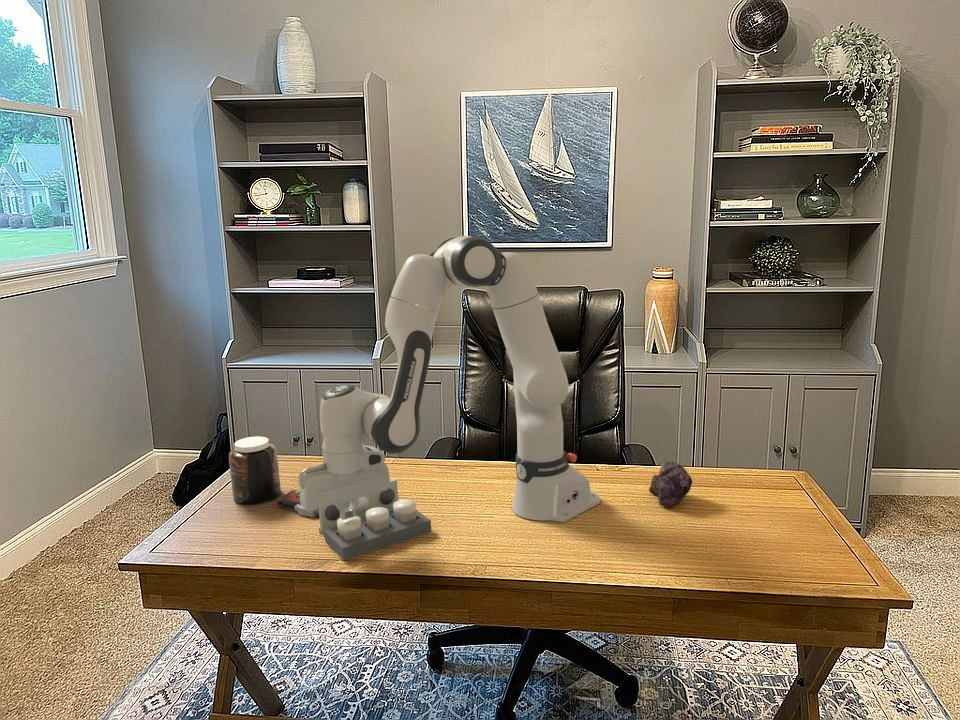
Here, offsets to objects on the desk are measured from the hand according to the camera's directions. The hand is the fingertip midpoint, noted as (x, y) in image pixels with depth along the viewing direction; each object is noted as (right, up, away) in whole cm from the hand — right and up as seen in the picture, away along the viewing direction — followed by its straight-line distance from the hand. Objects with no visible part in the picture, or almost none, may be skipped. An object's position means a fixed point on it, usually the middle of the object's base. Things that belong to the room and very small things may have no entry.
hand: (347, 517), depth 168 cm
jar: (-29, -1, +30) cm, 42 cm away
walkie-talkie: (-12, -3, +21) cm, 24 cm away
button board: (+6, -6, +5) cm, 10 cm away
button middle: (+6, -4, +5) cm, 9 cm away
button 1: (0, -5, +1) cm, 5 cm away
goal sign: (+1, -4, +13) cm, 14 cm away
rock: (+77, 0, +21) cm, 80 cm away
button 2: (+12, -3, +9) cm, 15 cm away
